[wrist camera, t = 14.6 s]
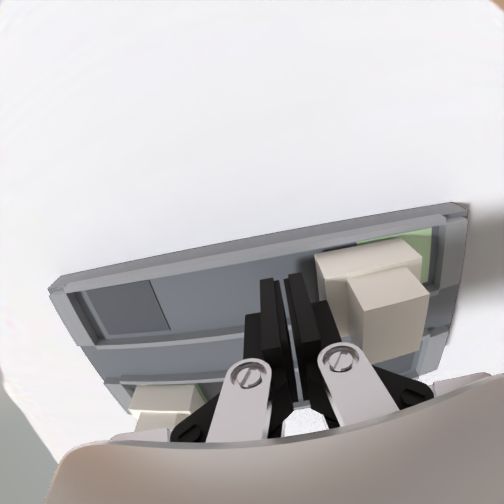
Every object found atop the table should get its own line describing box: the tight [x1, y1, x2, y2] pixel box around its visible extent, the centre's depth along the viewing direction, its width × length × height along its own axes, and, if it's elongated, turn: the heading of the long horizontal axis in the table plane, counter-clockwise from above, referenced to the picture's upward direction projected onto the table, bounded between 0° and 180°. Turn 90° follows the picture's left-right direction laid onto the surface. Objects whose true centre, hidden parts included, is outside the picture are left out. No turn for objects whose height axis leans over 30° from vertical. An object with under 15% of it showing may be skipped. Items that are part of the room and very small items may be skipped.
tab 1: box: [128, 384, 205, 432], centre depth 14 cm, size 4×3×4 cm
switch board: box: [48, 202, 468, 415], centre depth 15 cm, size 23×11×2 cm, turn 102°
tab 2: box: [314, 237, 430, 364], centre depth 10 cm, size 4×3×4 cm
